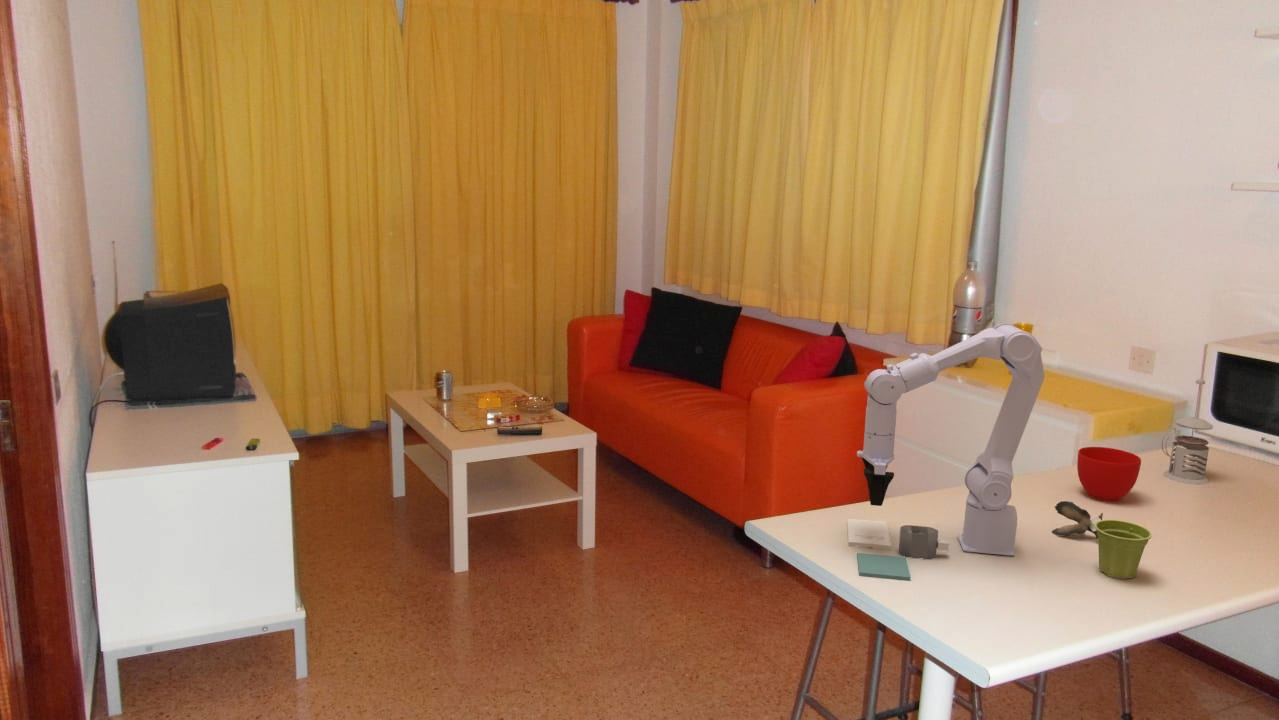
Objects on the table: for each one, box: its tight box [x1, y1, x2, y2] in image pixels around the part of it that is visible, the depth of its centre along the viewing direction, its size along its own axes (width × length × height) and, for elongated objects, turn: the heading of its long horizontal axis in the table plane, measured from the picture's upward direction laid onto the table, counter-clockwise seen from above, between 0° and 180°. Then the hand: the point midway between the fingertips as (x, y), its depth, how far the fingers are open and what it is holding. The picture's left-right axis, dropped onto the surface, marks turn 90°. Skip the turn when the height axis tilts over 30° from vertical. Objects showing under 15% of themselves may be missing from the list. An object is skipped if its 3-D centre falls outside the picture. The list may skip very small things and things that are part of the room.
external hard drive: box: [846, 518, 892, 551], centre depth 186 cm, size 2×8×12 cm
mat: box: [856, 552, 911, 581], centre depth 171 cm, size 9×9×1 cm
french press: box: [1160, 378, 1214, 485], centre depth 225 cm, size 10×12×25 cm
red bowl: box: [1076, 446, 1142, 503], centre depth 213 cm, size 13×17×10 cm
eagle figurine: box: [1051, 500, 1104, 540], centre depth 189 cm, size 8×7×9 cm
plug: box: [897, 524, 950, 560], centre depth 177 cm, size 9×4×5 cm, turn 80°
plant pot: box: [1095, 519, 1153, 580], centre depth 171 cm, size 9×9×9 cm
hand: (875, 498), depth 181 cm, fingers open, 7 cm apart
